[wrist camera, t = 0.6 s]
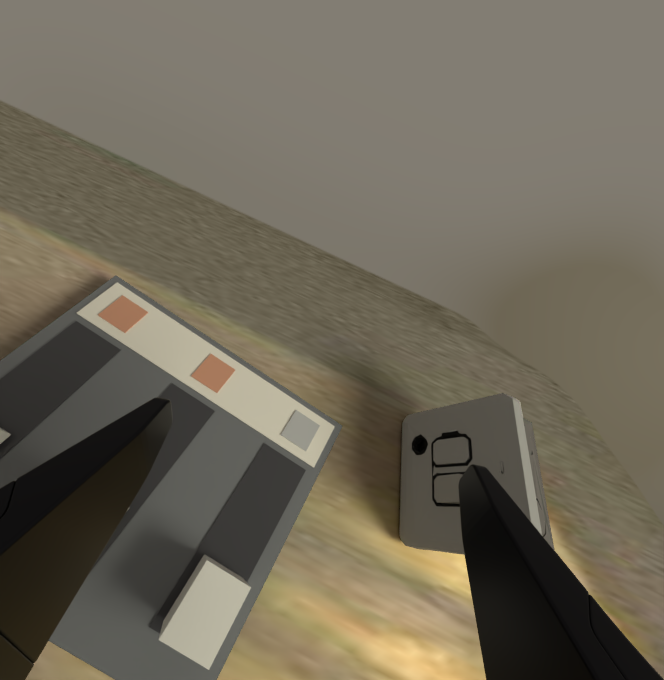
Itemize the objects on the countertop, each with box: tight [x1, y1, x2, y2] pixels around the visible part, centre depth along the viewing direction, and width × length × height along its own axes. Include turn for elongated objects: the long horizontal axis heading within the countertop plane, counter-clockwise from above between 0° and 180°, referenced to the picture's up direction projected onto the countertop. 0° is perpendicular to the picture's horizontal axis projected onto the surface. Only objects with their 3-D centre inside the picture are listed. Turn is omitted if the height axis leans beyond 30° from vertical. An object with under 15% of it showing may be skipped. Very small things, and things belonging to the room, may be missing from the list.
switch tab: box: [159, 554, 251, 670], centre depth 16 cm, size 3×2×3 cm
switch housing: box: [0, 276, 342, 680], centre depth 20 cm, size 16×19×2 cm
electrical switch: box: [399, 393, 554, 555], centre depth 23 cm, size 9×5×9 cm, turn 170°
